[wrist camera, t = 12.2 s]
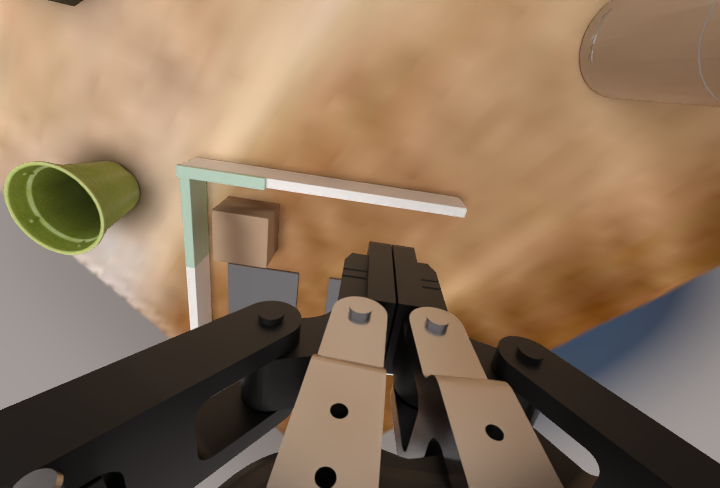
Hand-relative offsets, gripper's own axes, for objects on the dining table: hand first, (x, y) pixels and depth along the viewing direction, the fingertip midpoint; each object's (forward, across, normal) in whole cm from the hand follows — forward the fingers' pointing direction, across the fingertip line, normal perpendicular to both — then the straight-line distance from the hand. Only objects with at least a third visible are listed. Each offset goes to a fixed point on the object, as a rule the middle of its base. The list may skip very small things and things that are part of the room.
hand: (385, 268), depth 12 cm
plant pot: (+29, +30, +10) cm, 43 cm away
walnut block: (+29, +13, +12) cm, 34 cm away
